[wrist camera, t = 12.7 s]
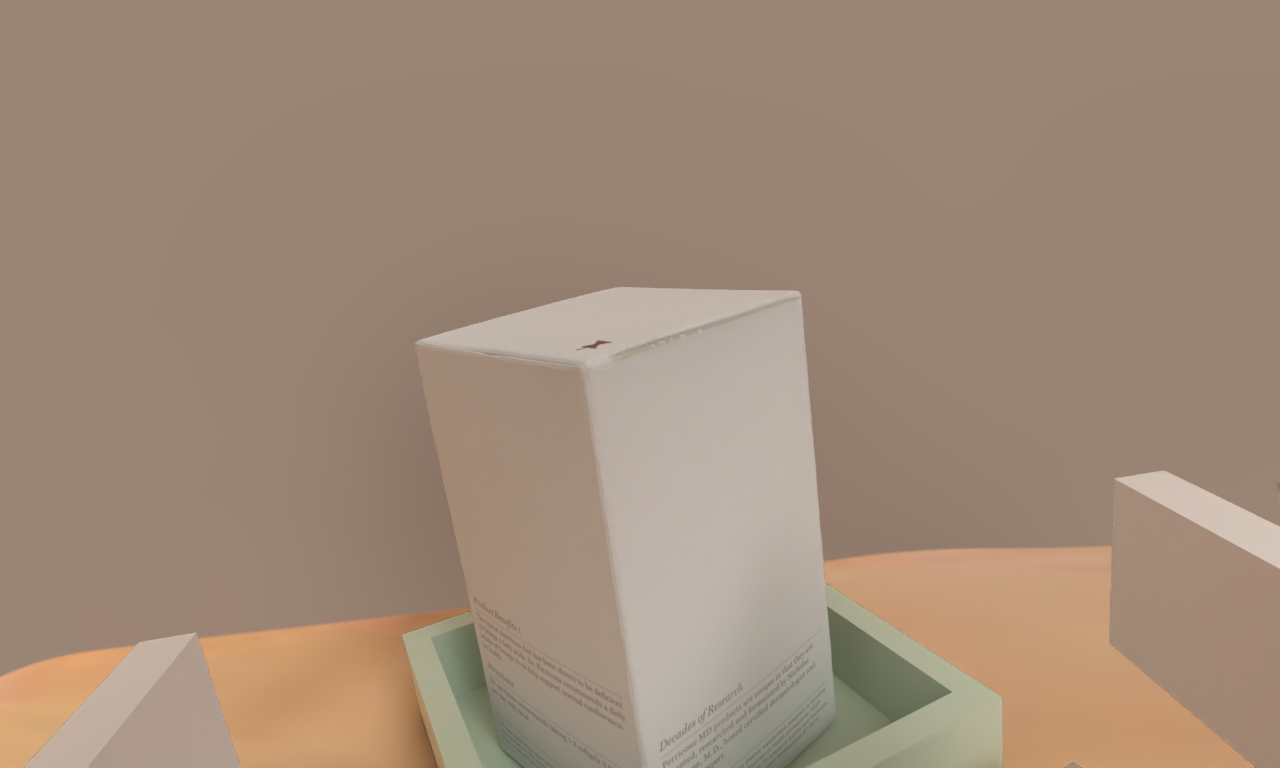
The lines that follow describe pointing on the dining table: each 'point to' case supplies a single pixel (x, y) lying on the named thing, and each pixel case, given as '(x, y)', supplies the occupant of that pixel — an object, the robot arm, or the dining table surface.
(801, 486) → the supplement box
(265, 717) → the dining table surface
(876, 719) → the green tray
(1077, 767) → the beige square tray
